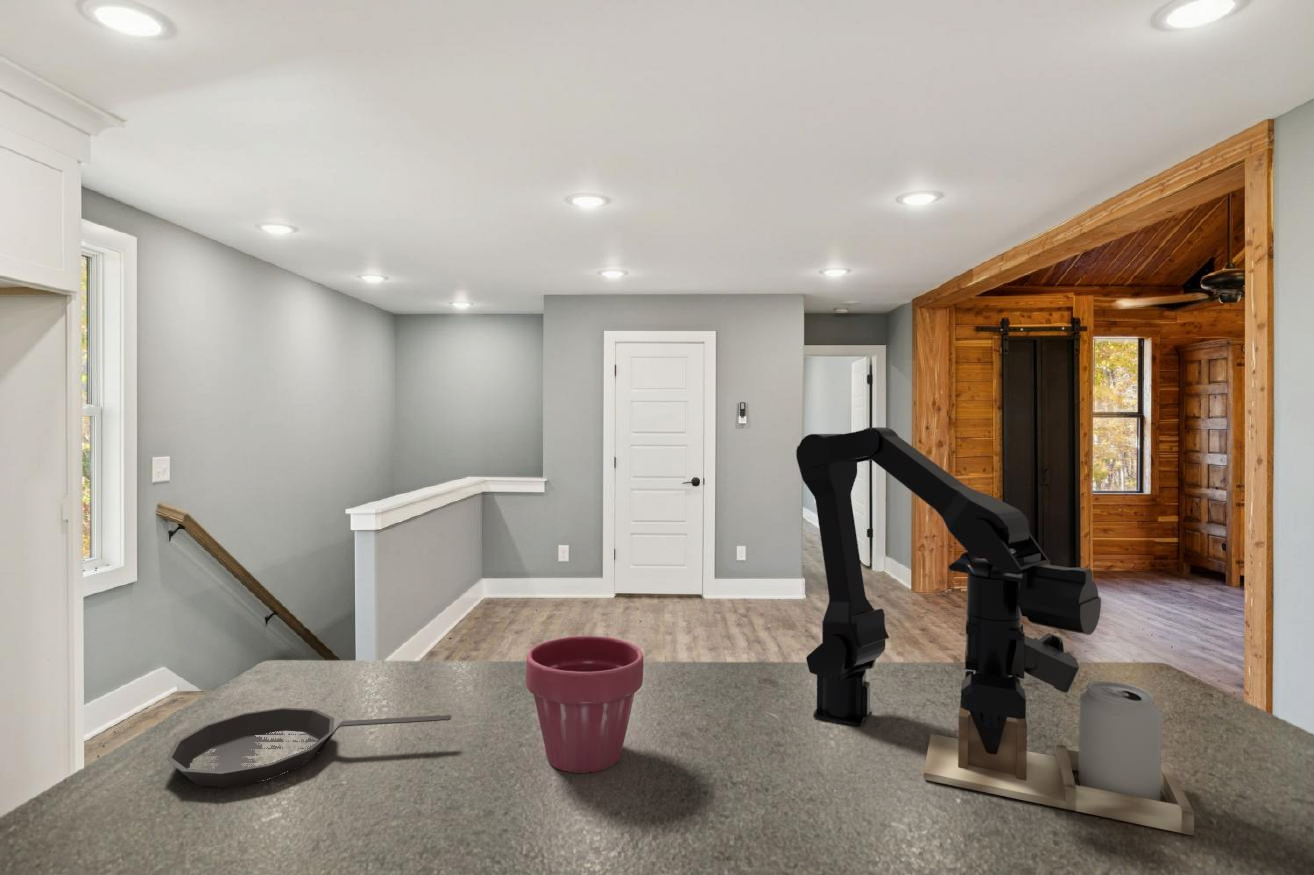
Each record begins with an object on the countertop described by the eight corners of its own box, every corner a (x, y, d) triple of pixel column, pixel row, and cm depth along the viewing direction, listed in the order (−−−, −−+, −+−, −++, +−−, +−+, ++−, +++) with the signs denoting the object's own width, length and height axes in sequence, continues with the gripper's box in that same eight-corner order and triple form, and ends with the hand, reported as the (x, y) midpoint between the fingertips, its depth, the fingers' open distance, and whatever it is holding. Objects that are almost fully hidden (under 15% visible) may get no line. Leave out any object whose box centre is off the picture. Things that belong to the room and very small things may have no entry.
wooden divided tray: (923, 779, 80) (924, 720, 80) (930, 740, 90) (931, 687, 89) (1193, 835, 69) (1194, 767, 69) (1168, 783, 79) (1169, 724, 79)
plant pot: (661, 743, 89) (662, 643, 89) (608, 796, 76) (608, 679, 76) (566, 722, 95) (566, 629, 95) (501, 768, 82) (501, 660, 82)
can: (1175, 821, 72) (1177, 705, 72) (1094, 812, 73) (1096, 699, 73) (1140, 784, 79) (1142, 679, 79) (1067, 777, 81) (1069, 674, 80)
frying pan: (211, 730, 92) (211, 702, 92) (460, 716, 97) (460, 690, 97) (131, 803, 75) (130, 769, 75) (440, 782, 80) (440, 749, 79)
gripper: (1083, 647, 69) (1081, 802, 70) (1065, 603, 86) (1063, 729, 87) (961, 632, 74) (959, 777, 74) (966, 594, 91) (965, 712, 91)
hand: (991, 747), depth 82 cm, fingers closed on wooden divided tray, 3 cm apart
